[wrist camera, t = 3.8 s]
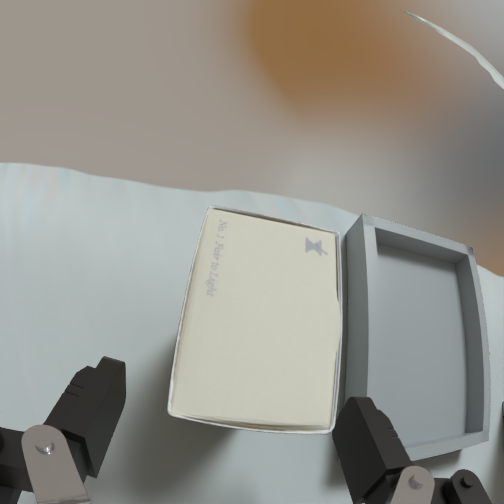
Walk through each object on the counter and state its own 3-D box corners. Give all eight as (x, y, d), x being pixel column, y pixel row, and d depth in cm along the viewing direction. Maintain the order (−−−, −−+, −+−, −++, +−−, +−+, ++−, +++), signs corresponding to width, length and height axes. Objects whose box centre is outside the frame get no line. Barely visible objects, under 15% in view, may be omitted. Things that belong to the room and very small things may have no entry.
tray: (337, 462, 16) (359, 468, 14) (346, 233, 25) (362, 213, 22) (463, 442, 17) (488, 440, 15) (453, 261, 26) (472, 247, 24)
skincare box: (195, 313, 20) (204, 194, 9) (262, 325, 20) (343, 225, 10) (179, 407, 16) (155, 416, 6) (250, 418, 17) (338, 435, 6)
